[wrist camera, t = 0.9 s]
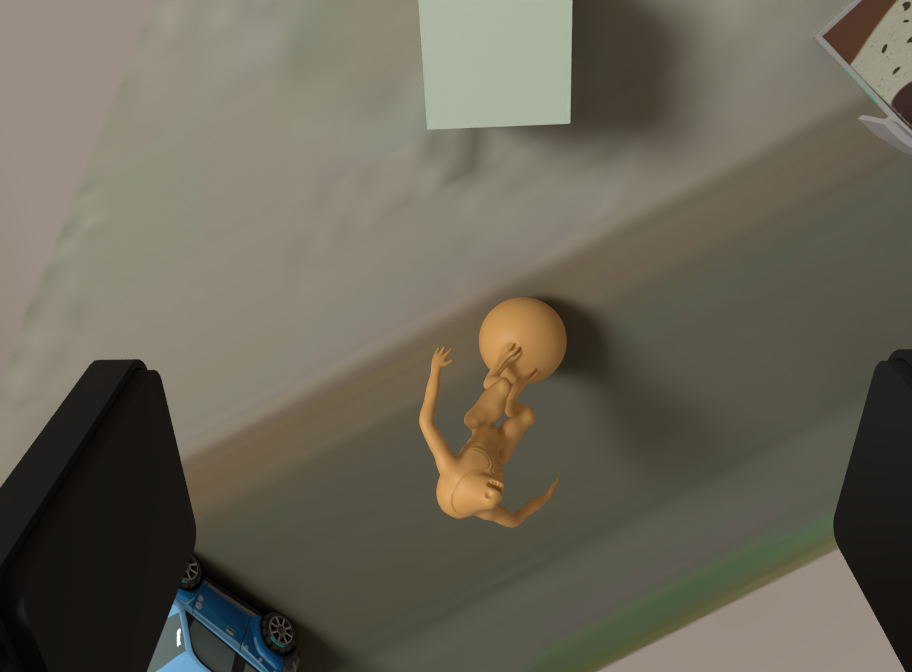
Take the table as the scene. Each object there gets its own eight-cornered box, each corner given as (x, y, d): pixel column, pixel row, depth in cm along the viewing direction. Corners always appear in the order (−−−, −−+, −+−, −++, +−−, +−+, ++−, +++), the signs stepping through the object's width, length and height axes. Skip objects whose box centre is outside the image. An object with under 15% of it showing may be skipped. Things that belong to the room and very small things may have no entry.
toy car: (160, 524, 47) (121, 601, 42) (317, 635, 51) (298, 717, 46) (100, 574, 49) (57, 653, 44) (256, 676, 53) (232, 759, 48)
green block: (559, -50, 32) (572, -33, 27) (558, 83, 34) (570, 123, 29) (428, -43, 32) (416, -25, 27) (436, 88, 35) (427, 129, 29)
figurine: (602, 361, 41) (640, 533, 30) (500, 418, 42) (503, 598, 32) (507, 230, 37) (513, 373, 27) (401, 298, 39) (368, 455, 29)
